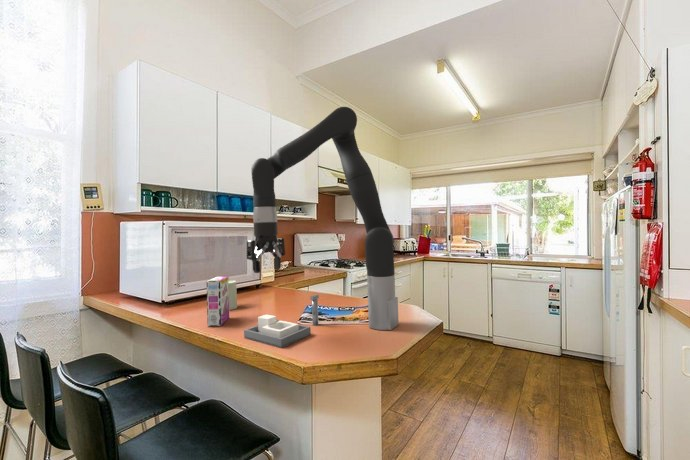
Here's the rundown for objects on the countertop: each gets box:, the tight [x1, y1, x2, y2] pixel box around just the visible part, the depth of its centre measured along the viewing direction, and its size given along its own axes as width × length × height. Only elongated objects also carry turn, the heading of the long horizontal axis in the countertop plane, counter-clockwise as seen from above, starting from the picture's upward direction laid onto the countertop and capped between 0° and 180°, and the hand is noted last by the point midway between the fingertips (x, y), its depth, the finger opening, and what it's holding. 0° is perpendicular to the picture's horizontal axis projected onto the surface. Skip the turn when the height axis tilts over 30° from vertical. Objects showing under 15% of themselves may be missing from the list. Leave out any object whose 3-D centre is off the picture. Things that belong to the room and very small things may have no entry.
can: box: [228, 279, 238, 311], centre depth 138 cm, size 9×9×12 cm
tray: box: [243, 319, 312, 349], centre depth 99 cm, size 17×13×2 cm
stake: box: [309, 294, 320, 326], centre depth 110 cm, size 2×3×10 cm, turn 145°
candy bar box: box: [206, 275, 230, 328], centre depth 117 cm, size 11×5×16 cm, turn 5°
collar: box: [257, 313, 300, 338], centre depth 100 cm, size 12×8×5 cm, turn 55°
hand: (267, 270), depth 103 cm, fingers open, 8 cm apart
